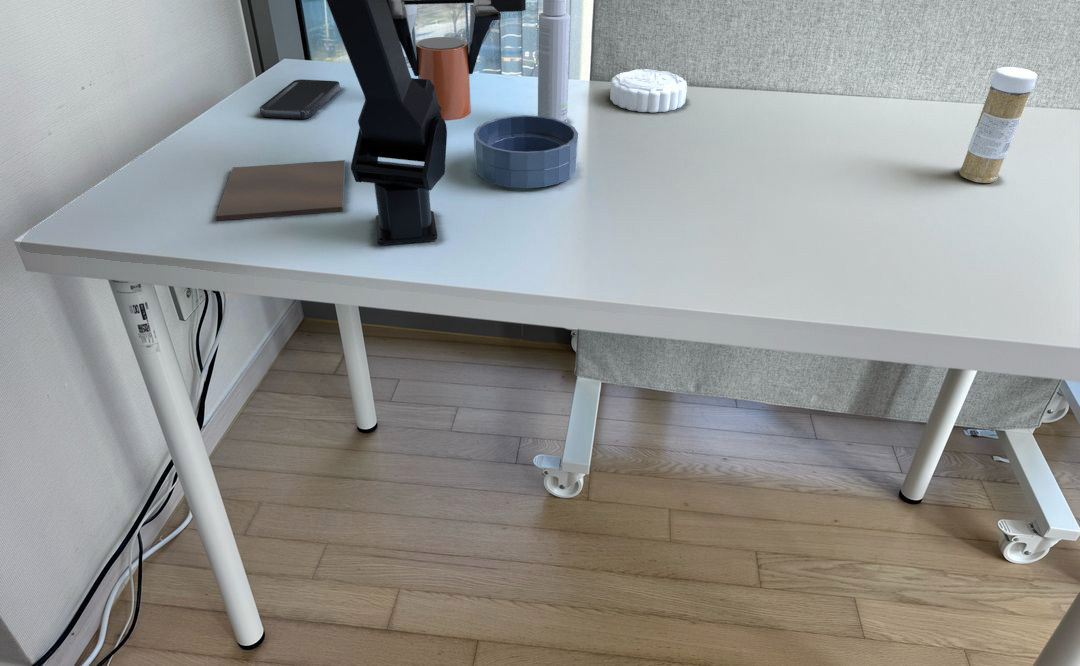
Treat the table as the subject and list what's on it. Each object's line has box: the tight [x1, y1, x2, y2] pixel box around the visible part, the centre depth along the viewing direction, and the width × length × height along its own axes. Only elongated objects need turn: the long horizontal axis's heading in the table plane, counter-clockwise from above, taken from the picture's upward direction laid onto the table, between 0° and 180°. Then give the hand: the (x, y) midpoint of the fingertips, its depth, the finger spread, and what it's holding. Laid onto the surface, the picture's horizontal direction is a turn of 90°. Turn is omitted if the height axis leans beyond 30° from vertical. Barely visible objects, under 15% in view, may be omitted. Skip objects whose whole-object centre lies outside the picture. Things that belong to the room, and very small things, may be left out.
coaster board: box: [215, 159, 346, 221], centre depth 91 cm, size 14×14×1 cm
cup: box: [414, 36, 472, 122], centre depth 88 cm, size 6×6×8 cm
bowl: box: [473, 114, 579, 189], centre depth 96 cm, size 13×13×5 cm
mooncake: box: [609, 68, 688, 114], centre depth 119 cm, size 12×12×4 cm
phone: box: [259, 78, 341, 120], centre depth 118 cm, size 8×1×15 cm
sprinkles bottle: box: [958, 66, 1038, 184], centre depth 93 cm, size 5×5×14 cm
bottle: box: [537, 0, 571, 123], centre depth 106 cm, size 4×4×20 cm
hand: (443, 74), depth 88 cm, fingers closed on cup, 6 cm apart
